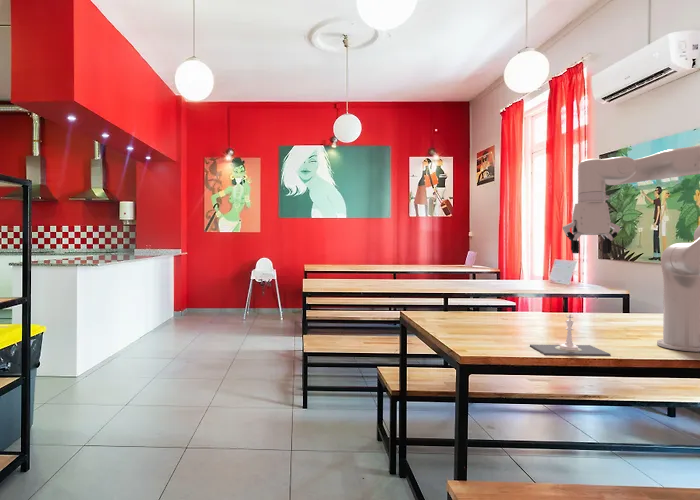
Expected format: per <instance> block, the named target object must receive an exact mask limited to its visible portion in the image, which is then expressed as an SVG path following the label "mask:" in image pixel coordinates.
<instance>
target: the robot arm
mask: <svg viewBox="0 0 700 500" xmlns="http://www.w3.org/2000/svg"><path fill="white" fill-rule="evenodd" d="M577 168H578V169H577V171H578V172H577V173H578V174H577V175H578V179H577V182H578V185H577V187H578V188H577V203H575V205H574V208H573V213H572V219H571V220H572V221H571V222H570V223H568V224H566V225H564V226H562V230H563V231H564V233H565V236H566V237H567V238H568V239H569V241H570V250H571V253H572V254H580V240H579V238H580V237H581V236H601V237H602V238H603V239H604V240H603V241H602V254H611V253H612V252H611V251H612V242H613V241H614V239H615V238H616V237H617V236H618V233H619V232H620V230H621V226H620V225H617V224H616V223H614V222H612V221H611V217H610V216H611V215H610V210H609V205H608V203H607V202H606V201H608V200H610V195H608V194H607V193H606V185H607V186H617V185H626V184H633V183H640V182H647V181H649V182H650V181H655V180H658V181H659V180H664V179H666V180H667V179H671V178H676V177H677V178H679V177H685V176H692V175H693V176H694V175H700V144H699V145H693V146H692V145H691V146H684V147H679V148H670V149H667V150H663V151H660V152H656V153H654V154H651V155H648V156H644V157H640V158H635V159H633V158H632V157H629V156H616V157H609V158H602V159H601V158H588V159H583V160H581V161H580V162H579V164H578V167H577ZM570 229H571V230H570ZM611 229H612V232H611V233H610V231H611ZM694 230H695V231H694V232H693V233H694V234H693V240H694V241H693V242H678V243H677V242H675V243H673V244H671V245H668V246H667V247H666V248H665V249H664V250H663V252H662V253H661V257H660V265H661V272H662V278H663V280H662V281H663V311H662V312H663V315H662V317H663V323H662V324H663V327H662V328H663V331H662V332H663V333H662V335H663V337H662V339H658V340H657V341H656V344H657V346H659V347H661V348H666V349H670V350H676V351H683V352H692V353H693V352H696V353H699V352H700V224H699V225H698V226H697V227H696V229H694Z"/></svg>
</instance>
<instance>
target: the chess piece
mask: <svg viewBox="0 0 700 500" xmlns="http://www.w3.org/2000/svg"><path fill="white" fill-rule="evenodd" d="M566 318H567V320H565V322H566V326H567V327H565V331H567V334H566V339H565V341H564V343H561V344H559V345H560V348H561V349H565V350H578V346H576V345H577V344H574V342H573V336H572V334H573V333H572V331H574V328H572V327H573V324H574V320H572V319H574V316H572V314H571V313H569V314H568V315H567V316H566Z"/></svg>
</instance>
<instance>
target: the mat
mask: <svg viewBox="0 0 700 500" xmlns="http://www.w3.org/2000/svg"><path fill="white" fill-rule="evenodd" d="M560 345H561V344H530V343H529V347H530V348H532V349H534V350H535V351H537V352H539V353H541V354H542V355H544V356H591V357H592V356H593V357H594V356H595V357H596V356H597V357H600V356H601V357H607V356H608V357H609V356H610V357H611V353H609V352H607V351H604V350H602V349H600V348H598V347H595V346H593V345H591V344H575V345H576V346H578V350H565V349H561V348H560Z"/></svg>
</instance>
